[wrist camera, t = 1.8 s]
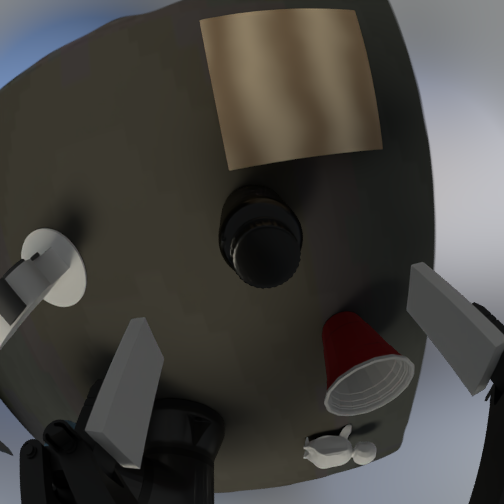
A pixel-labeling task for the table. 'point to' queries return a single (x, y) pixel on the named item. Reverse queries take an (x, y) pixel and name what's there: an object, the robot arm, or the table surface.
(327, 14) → the oak block
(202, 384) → the table surface
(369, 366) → the plastic cup
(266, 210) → the supplement bottle
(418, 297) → the robot arm
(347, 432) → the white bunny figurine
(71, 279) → the disc-based toy figure
